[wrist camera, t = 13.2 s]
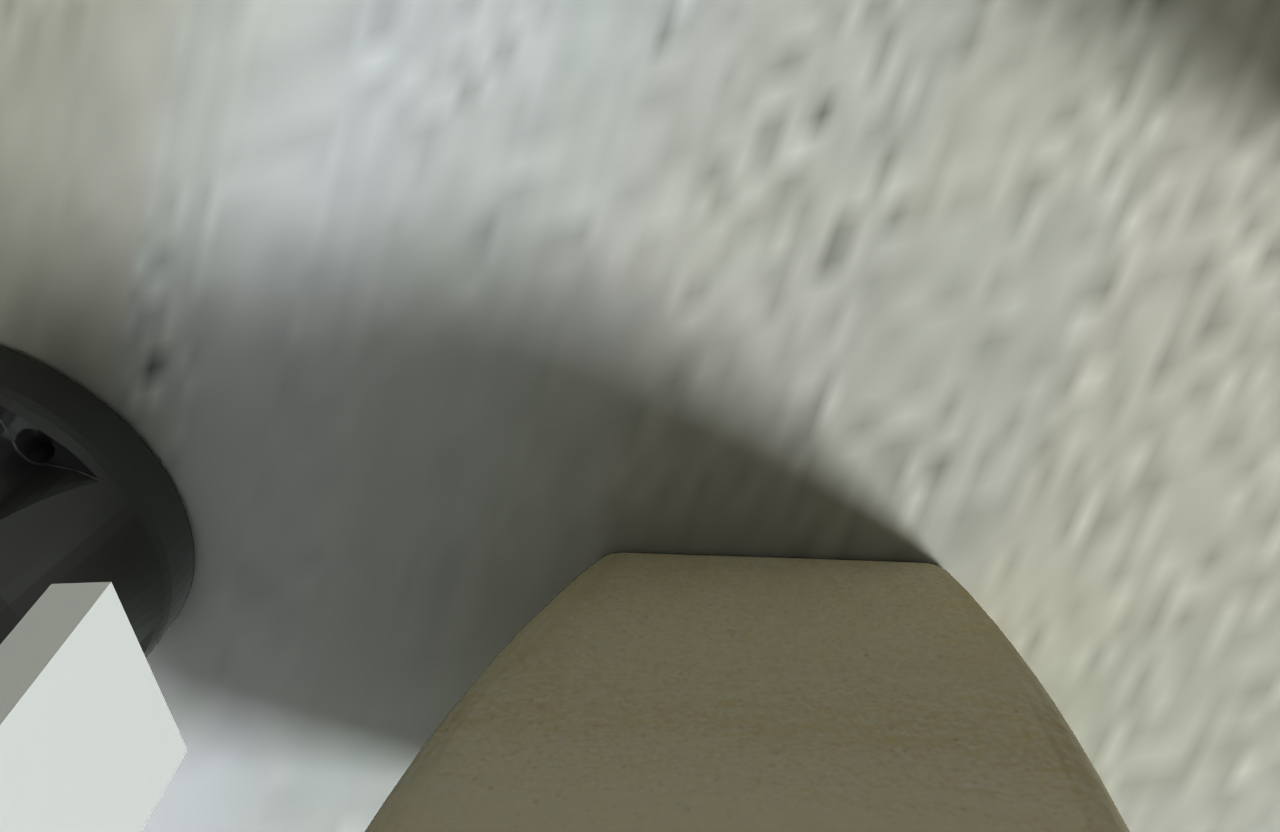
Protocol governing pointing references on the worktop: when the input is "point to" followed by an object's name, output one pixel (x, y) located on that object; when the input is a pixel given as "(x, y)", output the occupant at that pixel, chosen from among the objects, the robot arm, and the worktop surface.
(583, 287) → the worktop surface
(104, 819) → the robot arm
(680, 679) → the flower pot
